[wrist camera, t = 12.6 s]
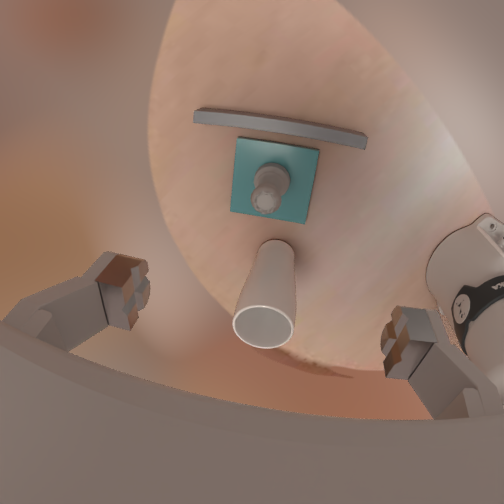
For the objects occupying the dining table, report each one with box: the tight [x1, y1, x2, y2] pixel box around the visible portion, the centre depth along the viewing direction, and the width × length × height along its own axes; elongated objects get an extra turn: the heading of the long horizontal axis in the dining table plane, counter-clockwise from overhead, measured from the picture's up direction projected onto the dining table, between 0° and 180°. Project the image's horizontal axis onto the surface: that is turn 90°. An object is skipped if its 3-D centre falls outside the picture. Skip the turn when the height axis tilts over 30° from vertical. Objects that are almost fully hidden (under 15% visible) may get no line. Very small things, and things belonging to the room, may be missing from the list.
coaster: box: [230, 137, 319, 224], centre depth 39 cm, size 10×10×1 cm
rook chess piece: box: [250, 163, 290, 215], centre depth 35 cm, size 4×4×8 cm
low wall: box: [193, 108, 368, 150], centre depth 35 cm, size 20×2×3 cm, turn 84°
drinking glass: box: [233, 240, 296, 348], centre depth 39 cm, size 7×7×15 cm
